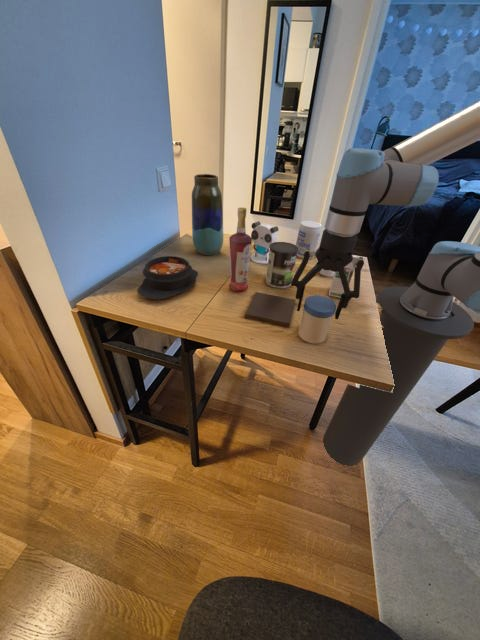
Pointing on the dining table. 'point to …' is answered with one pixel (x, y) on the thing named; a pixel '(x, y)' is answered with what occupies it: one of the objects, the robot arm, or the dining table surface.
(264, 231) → the panda figurine
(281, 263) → the coffee can
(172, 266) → the casserole
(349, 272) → the syrup box
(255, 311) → the serving board
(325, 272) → the white cup
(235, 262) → the liquor
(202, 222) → the vase
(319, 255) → the robot arm
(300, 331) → the jar
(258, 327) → the dining table surface
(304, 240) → the supplement tub
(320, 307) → the jar lid
